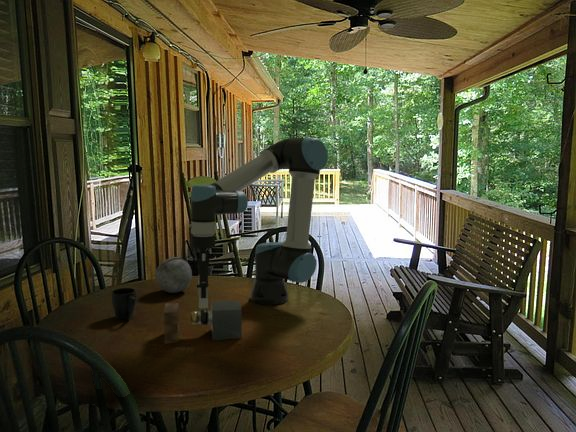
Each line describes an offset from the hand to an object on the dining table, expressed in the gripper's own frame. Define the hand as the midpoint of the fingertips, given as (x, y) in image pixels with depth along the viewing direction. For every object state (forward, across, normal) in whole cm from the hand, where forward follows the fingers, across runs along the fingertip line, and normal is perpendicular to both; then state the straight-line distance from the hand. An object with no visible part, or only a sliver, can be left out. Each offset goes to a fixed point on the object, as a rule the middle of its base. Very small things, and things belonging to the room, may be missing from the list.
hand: (202, 301), depth 141 cm
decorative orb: (+11, -49, -10) cm, 51 cm away
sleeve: (+11, 0, +8) cm, 14 cm away
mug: (+12, -20, -26) cm, 35 cm away
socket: (+12, 0, -10) cm, 15 cm away
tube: (+8, 0, +3) cm, 9 cm away
